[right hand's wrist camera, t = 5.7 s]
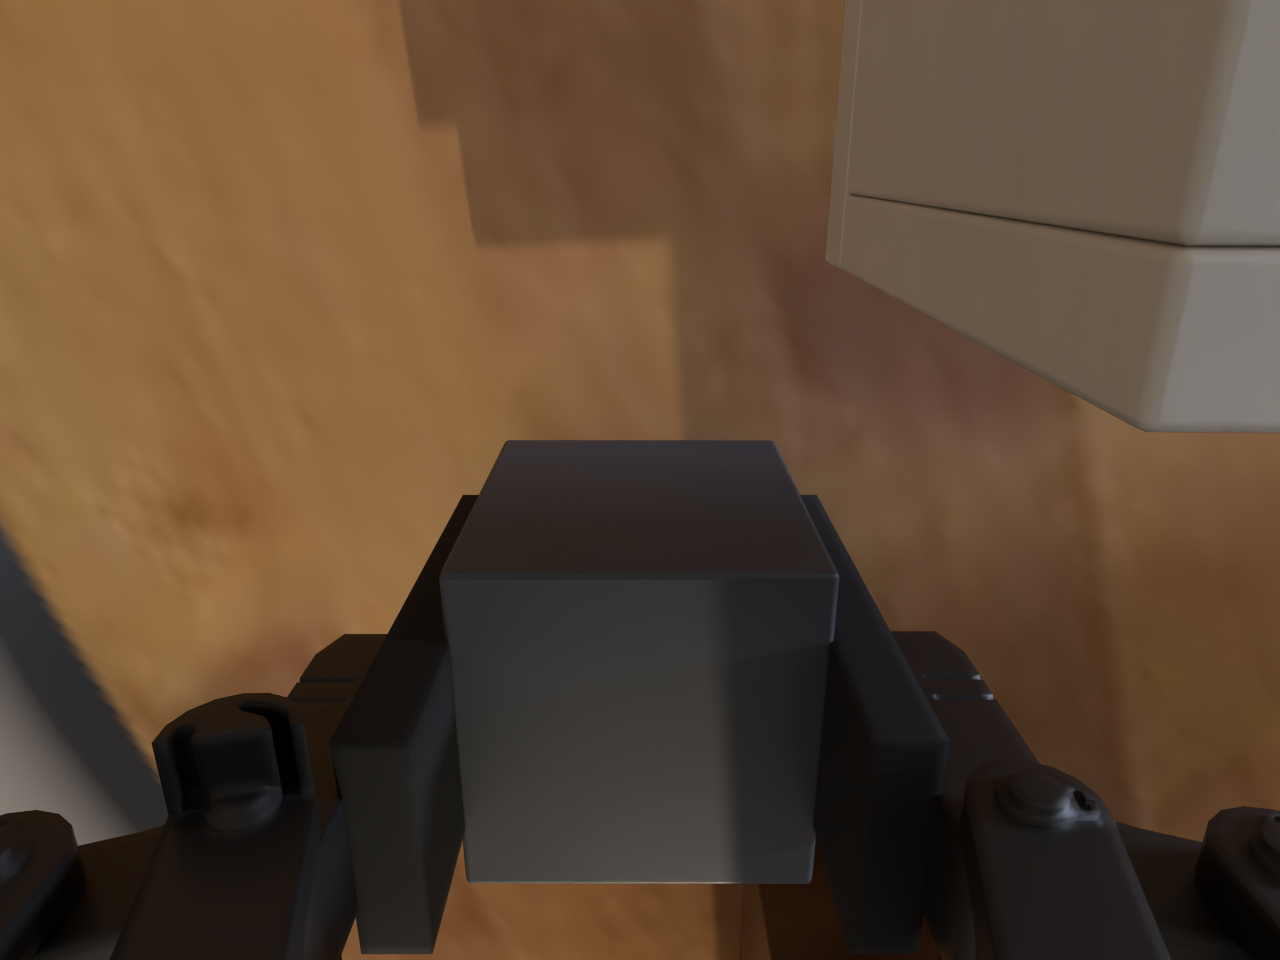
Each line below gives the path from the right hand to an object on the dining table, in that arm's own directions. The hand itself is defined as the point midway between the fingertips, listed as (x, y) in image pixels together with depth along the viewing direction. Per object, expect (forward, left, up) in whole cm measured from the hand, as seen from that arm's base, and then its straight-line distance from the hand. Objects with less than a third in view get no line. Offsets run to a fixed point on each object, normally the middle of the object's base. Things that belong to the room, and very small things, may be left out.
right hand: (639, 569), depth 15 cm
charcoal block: (0, 0, 0) cm, 0 cm away
